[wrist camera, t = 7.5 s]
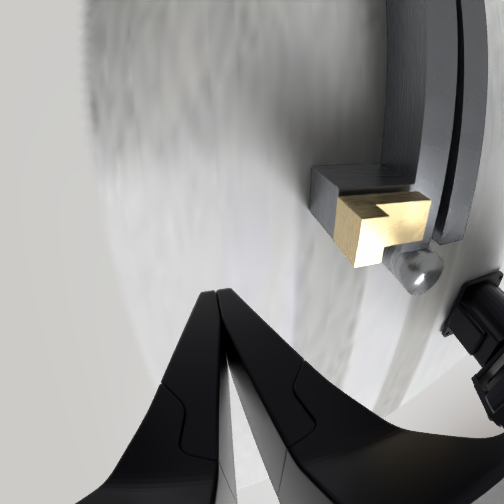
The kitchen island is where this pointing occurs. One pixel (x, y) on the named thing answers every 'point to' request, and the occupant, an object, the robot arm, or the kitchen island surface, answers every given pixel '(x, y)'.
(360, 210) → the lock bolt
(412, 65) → the tong base
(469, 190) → the tong arm
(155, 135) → the kitchen island surface
